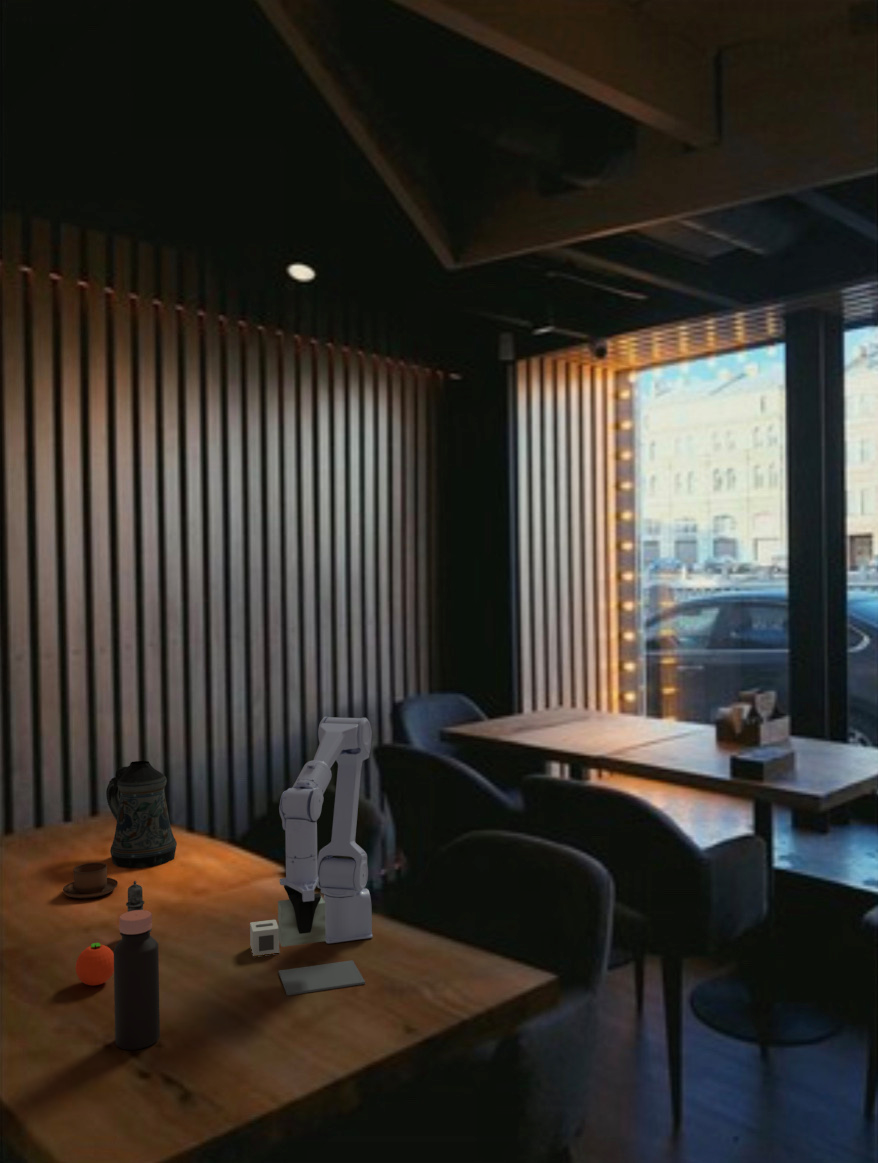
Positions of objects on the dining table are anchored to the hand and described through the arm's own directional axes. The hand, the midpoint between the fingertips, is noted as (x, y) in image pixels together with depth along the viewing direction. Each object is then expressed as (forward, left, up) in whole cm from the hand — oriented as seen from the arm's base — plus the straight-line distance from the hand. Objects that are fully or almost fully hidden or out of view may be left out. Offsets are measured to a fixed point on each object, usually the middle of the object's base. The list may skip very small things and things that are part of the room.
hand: (302, 928), depth 175 cm
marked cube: (+5, -14, -9) cm, 18 cm away
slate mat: (-3, +2, -9) cm, 10 cm away
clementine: (+36, -10, -9) cm, 38 cm away
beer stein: (+28, -86, -9) cm, 91 cm away
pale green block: (0, 0, -2) cm, 2 cm away
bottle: (+29, +15, -9) cm, 34 cm away
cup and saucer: (+39, -62, -9) cm, 74 cm away
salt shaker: (+29, -29, -9) cm, 42 cm away
